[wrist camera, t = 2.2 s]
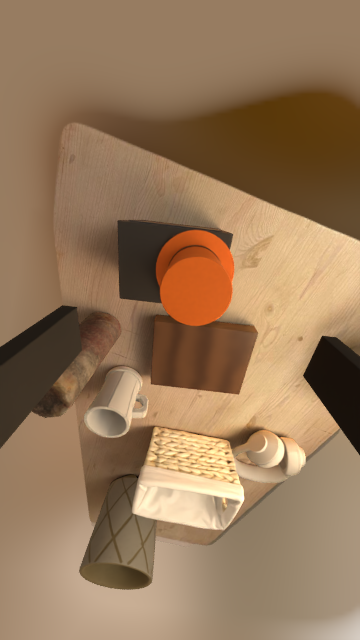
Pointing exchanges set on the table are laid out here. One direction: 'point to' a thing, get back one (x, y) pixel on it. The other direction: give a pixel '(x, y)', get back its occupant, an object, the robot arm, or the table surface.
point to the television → (148, 255)
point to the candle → (81, 364)
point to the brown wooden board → (201, 354)
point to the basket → (188, 481)
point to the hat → (195, 277)
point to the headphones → (269, 458)
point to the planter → (120, 542)
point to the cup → (116, 403)
